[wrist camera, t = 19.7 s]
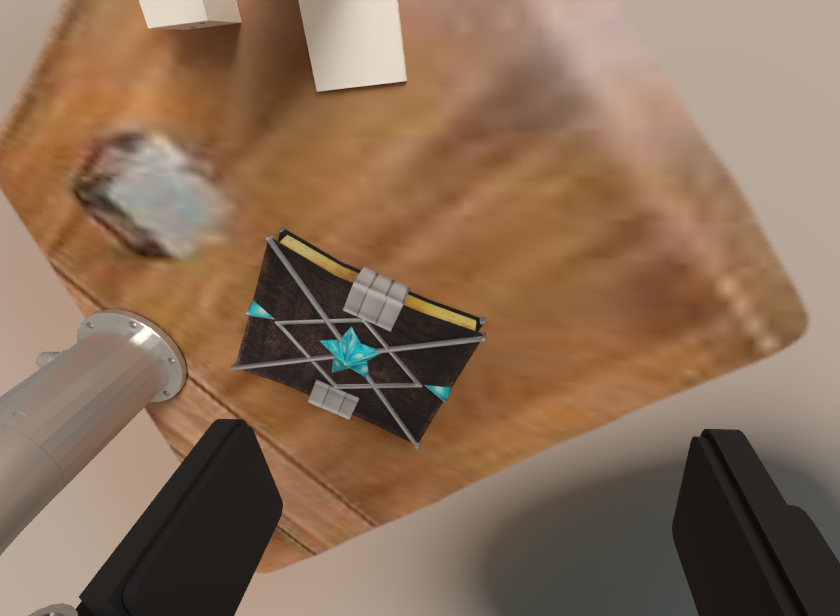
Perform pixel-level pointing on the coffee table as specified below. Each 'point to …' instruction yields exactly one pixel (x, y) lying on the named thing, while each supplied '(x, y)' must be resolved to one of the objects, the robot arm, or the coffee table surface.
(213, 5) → the die
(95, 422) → the robot arm
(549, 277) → the coffee table surface
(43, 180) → the coffee table surface
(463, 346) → the book
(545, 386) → the coffee table surface
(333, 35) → the squares
